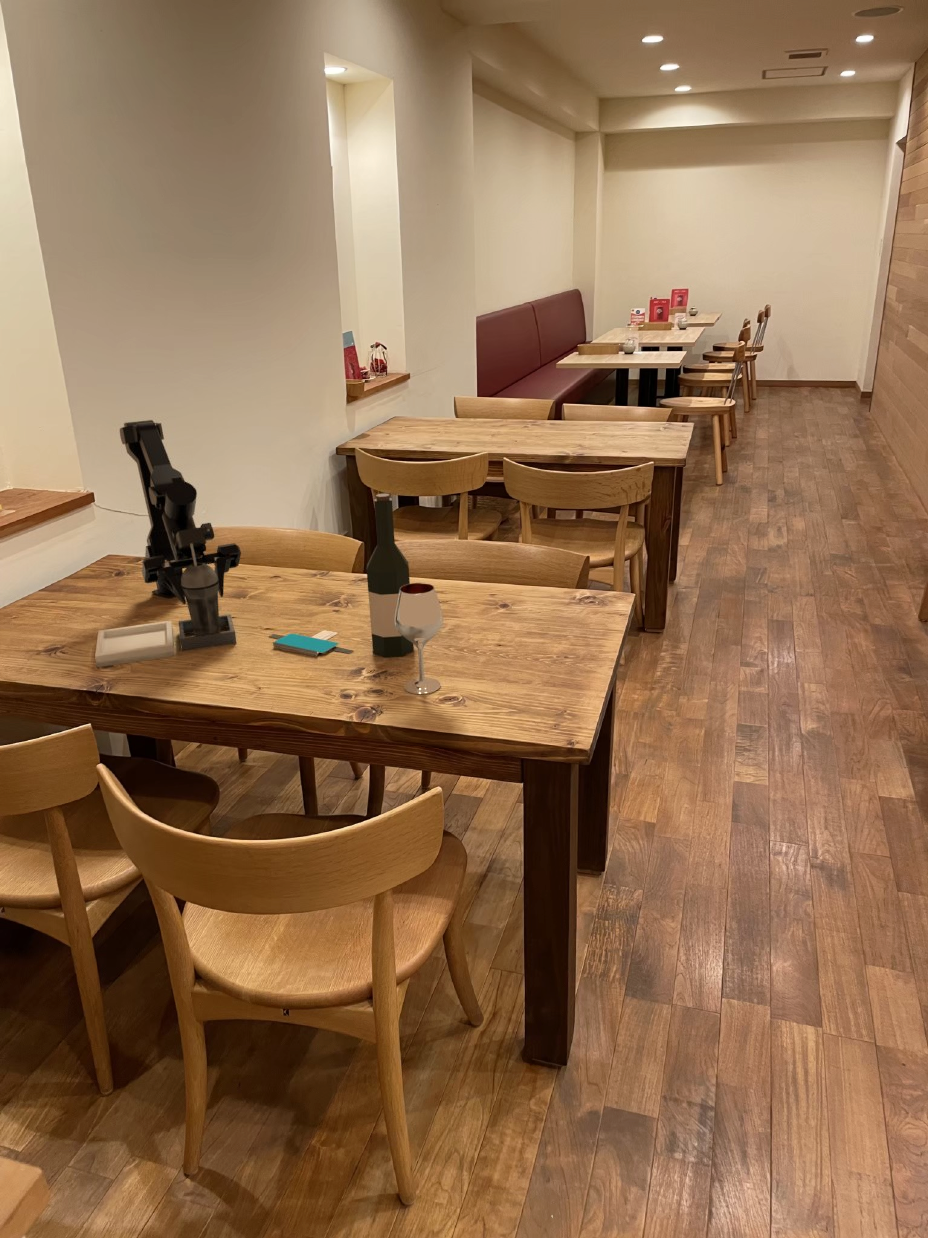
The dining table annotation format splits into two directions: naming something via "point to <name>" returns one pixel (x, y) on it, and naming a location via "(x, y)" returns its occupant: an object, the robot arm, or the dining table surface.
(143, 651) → the cream white tray
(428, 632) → the wineglass
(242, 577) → the dining table surface
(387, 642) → the wine bottle
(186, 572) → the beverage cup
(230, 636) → the grey-brown square frame
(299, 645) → the teal flat block
